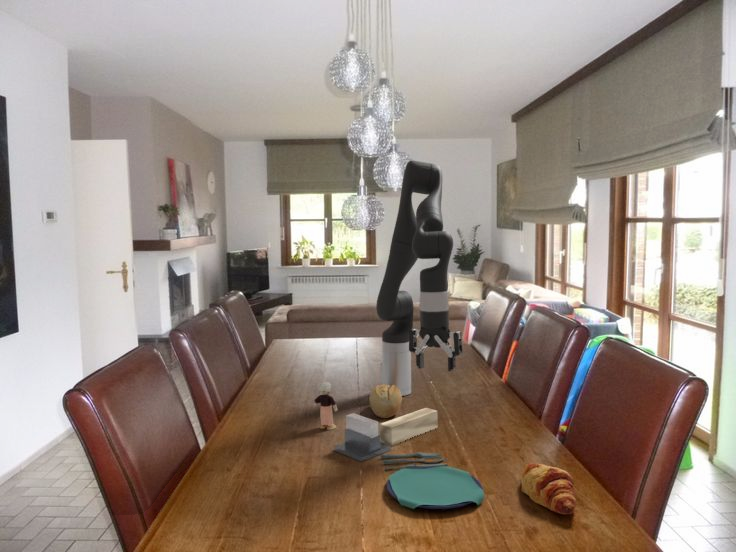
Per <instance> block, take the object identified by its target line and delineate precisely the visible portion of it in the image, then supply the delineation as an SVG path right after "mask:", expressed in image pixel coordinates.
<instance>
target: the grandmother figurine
mask: <svg viewBox="0 0 736 552" xmlns="http://www.w3.org/2000/svg"><path fill="white" fill-rule="evenodd" d="M331 388H332V385H331V383H330V382H328V381H324V382H322V383H321V384H320V386H319V388H318V392H321V394H320V395H318V396H317V397H316V398H315V399H314V403H313V408H316V407H317V406H318V404H320V411H319V412H320V413H319V415H320V416H319V417H320V427H319V429H322V430H323V429H326V430H328V431H333V430H335V429H337V426H336V425H335V424H334V419H333V417H334V416H333V411H334V412H335V413H336V412H337V411H338V406H337V403H336V401H335V399H334V398H333V397H334V396H332V395H329V394H331V390H332V389H331Z"/></svg>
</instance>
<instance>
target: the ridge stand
mask: <svg viewBox="0 0 736 552" xmlns="http://www.w3.org/2000/svg"><path fill="white" fill-rule="evenodd" d="M345 423H346V425H345V427H346V428H345V429H344V442H341V443H339V444H336V445H333V451H334V452H338V453H340V454H342V455H345V456H346V457H349V458H351V459H354V460H356V461H359V462H364V461H366V460H369V459H371V458H374V457H376V456H379V455H382V454H384V453H387V452H389V451H391V450H392V446H390V445H388V444H385V443H382V442H380V433H379V421H378V420H374V419H371V418H368V417H365V416H363V415H360V414H357V413H355V412H353V413H350V414H346V415H345Z"/></svg>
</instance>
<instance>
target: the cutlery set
mask: <svg viewBox="0 0 736 552" xmlns="http://www.w3.org/2000/svg"><path fill="white" fill-rule="evenodd" d="M406 457H407V458H412V457H416V458H419V457H420V458H419V459H405V458H406ZM380 459H381V460H382V461H383V465H387V464H394V463H395V464H397V463H409V464H406V465H401V466H388V467H387V466H385V471H387V470H392V469H398V470H396V471H395V472H393V473H392V474H390V475H389V476H387V477H388V480H387V481H386V490H387V492H388V493H389V494H390V496H391V497H392V498H394V499H396V500H397V501H398V503H399V504H400V505H401V506H403V507H406V508H409V509H412V510H414V509H416V508H421V509H429V510H448V509H450V510H451V509H456V508H462V507H464V506H467V505H469V504H473V503H476V505H477V506H479V505H481V504H482V503H483V501H484V500H485V492H484V487H483V486H482V482H481V481H479V480H478V479H477V478H476V477H475V476H473V475H471V474H470V472H468V471H465V470H463V469H458V468H454V467H450V466H448V463H446V462H445V463H440V462H443V461H444V460H445V457H443V456H441V454H440V452H436V453H435V452H421V451H419V452H417V451H415V453H408V454H384V453H382V454H380ZM429 459H430V460H431V459H432V460H433V459H435V461H425V460H429ZM439 459H440V460H439ZM411 463H414V464H411ZM416 463H425V464H417V465H416Z"/></svg>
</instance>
